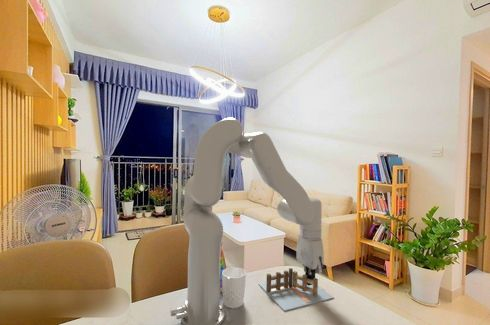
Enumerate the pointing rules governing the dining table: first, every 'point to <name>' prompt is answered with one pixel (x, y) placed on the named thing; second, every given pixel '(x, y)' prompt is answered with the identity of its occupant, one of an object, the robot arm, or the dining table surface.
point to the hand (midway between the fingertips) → (310, 283)
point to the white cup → (233, 287)
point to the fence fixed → (279, 280)
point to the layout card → (295, 296)
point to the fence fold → (305, 283)
